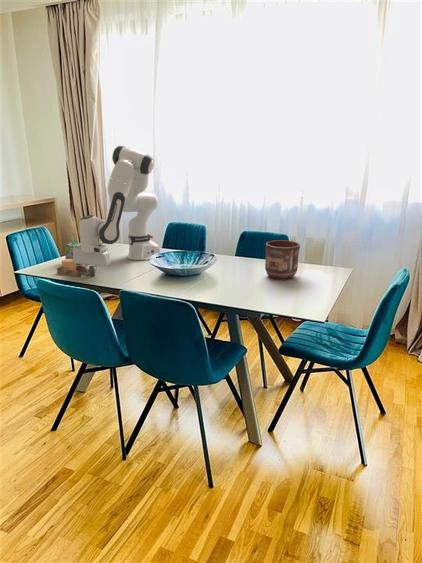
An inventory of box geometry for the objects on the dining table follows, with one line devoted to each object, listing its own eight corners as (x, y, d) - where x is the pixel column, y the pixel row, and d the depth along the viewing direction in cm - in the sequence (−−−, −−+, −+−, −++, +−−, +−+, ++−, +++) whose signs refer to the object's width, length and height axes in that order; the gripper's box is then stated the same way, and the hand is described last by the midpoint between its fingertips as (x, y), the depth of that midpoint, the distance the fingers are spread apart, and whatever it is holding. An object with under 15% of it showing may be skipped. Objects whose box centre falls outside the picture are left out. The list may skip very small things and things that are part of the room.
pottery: (297, 283, 210) (300, 248, 205) (262, 280, 214) (264, 246, 208) (297, 273, 227) (300, 240, 221) (265, 271, 230) (267, 239, 225)
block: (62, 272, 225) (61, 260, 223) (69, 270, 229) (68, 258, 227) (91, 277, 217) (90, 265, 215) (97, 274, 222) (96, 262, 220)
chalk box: (79, 266, 237) (76, 241, 232) (65, 265, 240) (62, 239, 235) (88, 262, 245) (86, 237, 241) (75, 260, 248) (72, 236, 243)
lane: (57, 273, 224) (56, 268, 223) (69, 268, 232) (69, 263, 231) (79, 277, 218) (79, 271, 217) (91, 272, 226) (91, 267, 225)
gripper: (68, 246, 215) (71, 272, 219) (104, 249, 210) (106, 275, 214) (75, 244, 221) (78, 269, 225) (110, 246, 215) (112, 272, 220)
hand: (92, 272), depth 220 cm, fingers closed on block, 3 cm apart
